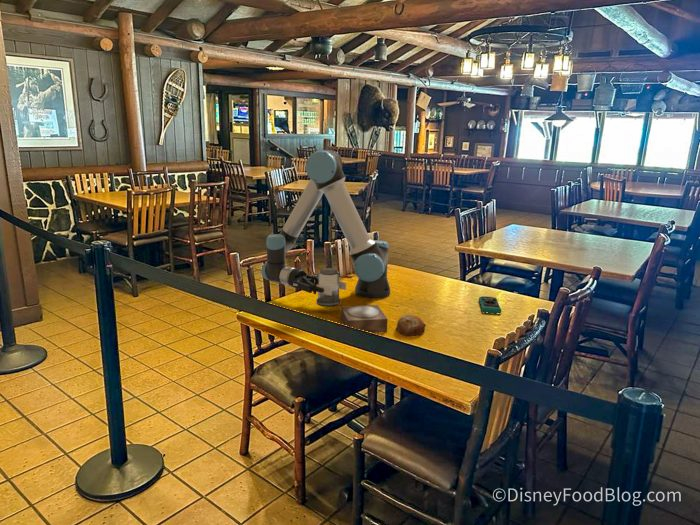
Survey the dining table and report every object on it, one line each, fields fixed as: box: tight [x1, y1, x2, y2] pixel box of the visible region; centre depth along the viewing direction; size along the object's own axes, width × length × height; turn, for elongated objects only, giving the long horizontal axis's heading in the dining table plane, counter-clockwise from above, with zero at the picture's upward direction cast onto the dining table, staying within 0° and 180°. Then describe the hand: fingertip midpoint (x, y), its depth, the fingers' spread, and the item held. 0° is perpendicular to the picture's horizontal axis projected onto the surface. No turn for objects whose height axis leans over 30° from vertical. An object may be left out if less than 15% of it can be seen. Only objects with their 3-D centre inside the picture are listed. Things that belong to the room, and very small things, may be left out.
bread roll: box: [395, 313, 426, 338], centre depth 176 cm, size 10×10×8 cm
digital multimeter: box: [478, 295, 502, 314], centre depth 203 cm, size 7×15×3 cm, turn 172°
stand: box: [339, 304, 388, 334], centre depth 179 cm, size 14×14×5 cm
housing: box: [315, 267, 342, 308], centre depth 190 cm, size 9×9×13 cm
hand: (338, 289), depth 187 cm, fingers closed on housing, 8 cm apart
